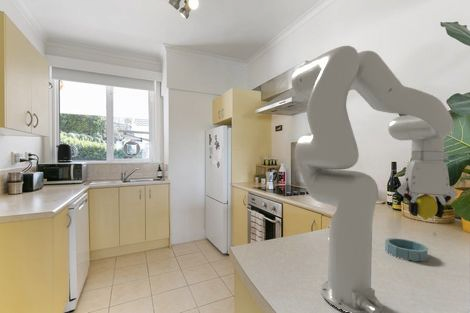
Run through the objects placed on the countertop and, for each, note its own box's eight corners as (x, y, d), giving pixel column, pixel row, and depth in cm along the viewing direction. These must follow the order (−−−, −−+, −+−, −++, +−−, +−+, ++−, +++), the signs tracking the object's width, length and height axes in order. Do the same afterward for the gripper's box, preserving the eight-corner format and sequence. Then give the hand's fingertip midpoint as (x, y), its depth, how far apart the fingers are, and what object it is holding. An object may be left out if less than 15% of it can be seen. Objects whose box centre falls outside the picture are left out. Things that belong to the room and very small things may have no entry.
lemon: (414, 216, 73) (414, 191, 73) (436, 219, 70) (437, 193, 70) (413, 219, 69) (414, 193, 69) (438, 223, 65) (438, 196, 65)
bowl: (436, 259, 77) (436, 249, 77) (409, 263, 74) (409, 253, 74) (402, 245, 89) (403, 237, 89) (378, 248, 86) (378, 239, 86)
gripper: (453, 157, 70) (451, 215, 70) (390, 156, 75) (388, 210, 75) (470, 158, 63) (469, 222, 63) (399, 156, 68) (398, 216, 68)
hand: (425, 215), depth 69 cm, fingers closed on lemon, 5 cm apart
